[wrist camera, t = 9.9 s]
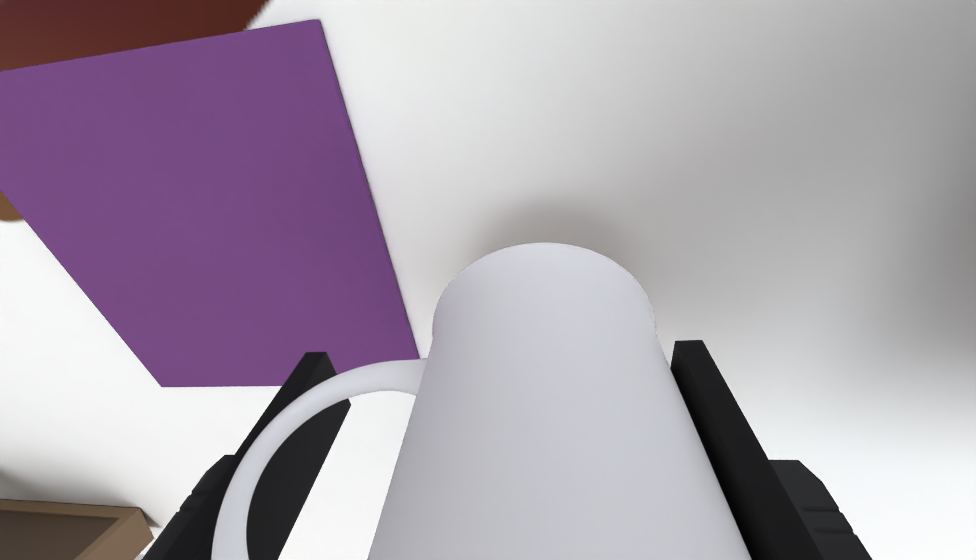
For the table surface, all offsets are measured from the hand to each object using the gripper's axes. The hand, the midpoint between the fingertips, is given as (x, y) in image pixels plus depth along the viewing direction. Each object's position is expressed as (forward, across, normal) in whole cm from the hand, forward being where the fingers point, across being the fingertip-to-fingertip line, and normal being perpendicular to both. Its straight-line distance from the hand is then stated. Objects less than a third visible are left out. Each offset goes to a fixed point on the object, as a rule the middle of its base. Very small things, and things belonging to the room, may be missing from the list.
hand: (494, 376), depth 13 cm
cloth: (+8, +16, -1) cm, 18 cm away
